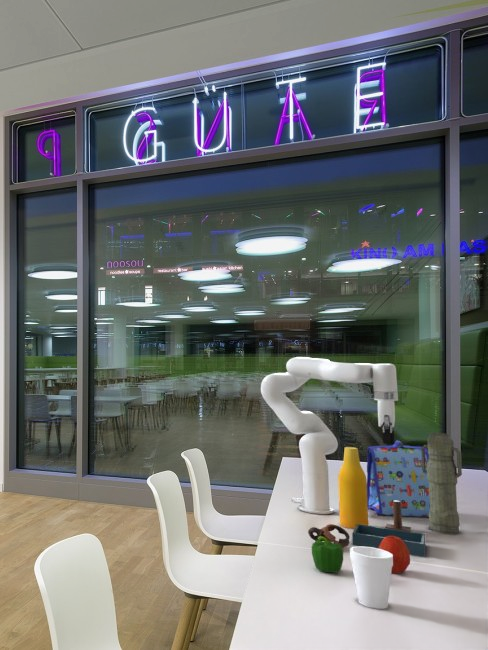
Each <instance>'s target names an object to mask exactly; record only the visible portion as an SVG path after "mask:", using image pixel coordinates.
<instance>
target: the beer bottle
mask: <svg viewBox="0 0 488 650" xmlns="http://www.w3.org/2000/svg"><path fill="white" fill-rule="evenodd" d="M337 479H338V480H337V481H338V507H339V524H340V526H341V527H342V528H346V529H352V530H354V529H355V527H356V525H357V524H361V525H368V526H370V525H369V524H370V523H369V522H370V521H369V509H368V503H367V475H366V473H365V471H364V469H363V467H362V466H361V461H360V454H359V450H358V447H354V446H353V447H352V446H345V447H344V452H343V462H342V465H341V467H340V469H339V471H338V476H337Z"/></svg>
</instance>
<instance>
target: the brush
mask: <svg viewBox="0 0 488 650" xmlns="http://www.w3.org/2000/svg"><path fill="white" fill-rule="evenodd" d="M392 516H393V524H391V523H386V524H385V527H384V528H388V529H395V530H402V531H409V532H412V527H411V526H405V525H403V516H402V510H401V501H397V500H393V515H392Z"/></svg>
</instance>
